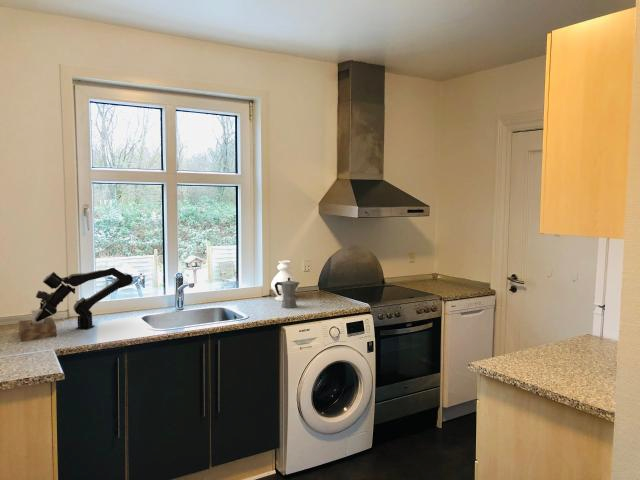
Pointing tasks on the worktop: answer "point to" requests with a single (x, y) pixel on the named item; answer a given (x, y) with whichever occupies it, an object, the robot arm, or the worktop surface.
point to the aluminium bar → (34, 315)
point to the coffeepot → (288, 293)
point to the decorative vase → (282, 277)
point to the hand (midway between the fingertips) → (35, 319)
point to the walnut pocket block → (37, 329)
